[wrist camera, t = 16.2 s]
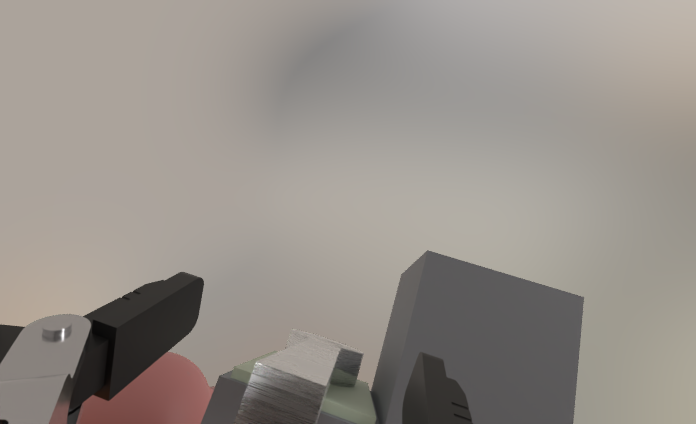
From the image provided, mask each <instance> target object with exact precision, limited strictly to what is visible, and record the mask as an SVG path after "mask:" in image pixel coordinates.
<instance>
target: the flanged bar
mask: <svg viewBox="0 0 696 424" xmlns="http://www.w3.org/2000/svg"><path fill="white" fill-rule="evenodd" d="M363 355H364V353H363V352H361V351H359V350H357V349H355V348H353V347H350V346H348V345H345V344H342V343H340V342H337V341H334V340H331V339H328V338H325V337H322V336H319V335H316V334H312V333H309V332H305V331H301V330H296V329H292V330H291V333H290V335H289V338H288V341H287V344H286V347H285V349H284V350H281V351H279V352H277V353H275V354H272V355H270V356H268V357H265V358H263V359H261V360H259V361H256V364H255V367H254V369H253V372H252V375H251V378H250V380H249V383H248V386H247V388H246V391H245V394H244V397H243V399H242V402H241V405H240V407H239V410H238V413H237V416H236V418H235V421H234V424H317V421H318V418H319V415H320V412H321V409H322V406H323V404H324V401H325V398H326V395H327V392H328V389H329V386H330V384H332V385H336V386H341V387H354V386H355V384H356V380H357V376H358V373H359V369H360V365H361V362H362V358H363Z"/></svg>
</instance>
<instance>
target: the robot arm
mask: <svg viewBox="0 0 696 424" xmlns="http://www.w3.org/2000/svg"><path fill="white" fill-rule="evenodd" d="M203 286H204V281H203V279H202V278H200V277H197V276H194V275H191V274H188V273H185V272H180V273H178V274H176V275H174V276H173V277H171V278H169V279H167V280H165V281H164V280H161V281H157V282H152V283H149V284H145V285H143V286H142V287H140V288H138V289H136V290H134V291H133V292H130V293H128V294H126V295H124V296H123V297H122V298H118V299H117V300H114V301H112V302H110V303H108V304H106V305H104V306H102V307H100V308H99V309H97V310H95V311H93V312H91V313H89V314H87V315H85V316H83V317H82V316H79V315H72V314H63V315H55V316H49V317H45V318H42V319H39V320H37V321H34V322H32V323H30V324H29V325H27V326H26V327H19V326H10V325H0V424H79V423H80V419H81V416H82V413H83V408H84V401H86V400H87V399H88V398H90V397H91V396H92V395H94V396H97V397H99V398H102V399H104V400H107V401H110V400H111V399H112V398H113V397H114V396H115V395H117V394H118V393H119V392H120V391H121V390H123V389H124V388H125V387H126V386H127V385H128V384H130V383H131V382H132V381H133V380H134V379H136V378H137V377H138V376H139V375H140V374H141V373H143V372H144V371H145V370H146V369H147V368H149V367H150V366H151V365H152V364H153V363H155V362H156V361H157V360H158V359H159V358H160V357H162V356H163V355H164V354H165V353H166V352H168V351H169V350H170V349H171V348H172V347H173V346H175V345H176V344H177V343H178V342H179V341H181V340H182V339H183V338H184V337H185V336H186V335H188V334H189V333H190V332H191V330H192V329H193V327H194V326H195V324H196V321H197V319H198V315H199V309H200V304H201V298H202V292H203ZM402 424H473V423H472V418H471V414H470V411H469V406H468V402H467V398H466V394H465V393H464V391H463V390H462V388H461V387H460V385H459V384H458V383H457V381H456V380H454V379H451V378H448V377H447V376H446V371H445V366H444V361H443V359H441V358H438V357H435V356H432V355H429V354H426V353H423V352H420V353H419V355H418V357H417V360H416V363H415V366H414V368H413V371H412V374H411V377H410V380H409V383H408V385H407V388H406V391H405V395H404V400H403V407H402Z"/></svg>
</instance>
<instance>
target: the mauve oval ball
mask: <svg viewBox="0 0 696 424" xmlns="http://www.w3.org/2000/svg"><path fill="white" fill-rule="evenodd" d="M214 388H215V387H214V386H212V387H209V386H208V383H207V381H206V378H205V377H204V375H203V373H202V372H201V370H200V369H199V368H198V367H197V366H196V365H195V364H194V363H193V362H191V361H190V360H188V359H187V358H185V357H183V356H181V355H178V354H175V353H171V352H166V353H165V354H164V355H163V356H162V357H160V358H159V359H158V360H157V361H156V362H155V363H153V364H152V365H151V366H150V367H149V368H147V369H146V370H145V371H144V372H143V373H141V374H140V375H139V376H138V377H137V378H136V379H134V380H133V381H132V382H131V383H130V384H128V385H127V386H126V387H125V388H124V389H123V390H121V391H120V392H119V393H118V394H117V395H115V396H114V397H113V398H112V399H111V400H110V401H107V400H104V399H102V398H99V397H97V396H94V395H92V396H91V397H90V398H88V399H87V400H86V401H84V408H83V413H82V416H81V419H80V423H79V424H201V421H202V419H203V416H204V414H205V411H206V409H207V406H208V404H209V401H210V399H211V396H212V394H213V391H214Z"/></svg>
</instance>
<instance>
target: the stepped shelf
mask: <svg viewBox="0 0 696 424" xmlns="http://www.w3.org/2000/svg"><path fill="white" fill-rule="evenodd" d="M583 302H584V297H581V296H578V295H575V294H571V293H568V292H565V291H561V290H558V289H555V288H551V287H548V286H545V285H541V284H538V283H535V282H531V281H528V280H525V279H521V278H518V277H515V276H511V275H508V274H505V273H501V272H498V271H494V270H491V269H488V268H485V267H481V266H478V265H475V264H471V263H468V262H465V261H461V260H458V259H454V258H451V257H448V256H444V255H441V254H438V253H435V252H431V251H426V252H425V253H424V254H423V255H422V256H421V257H420V258H419V259H418V260H417V261H416V262H414V264H412V265H411V266H410V267H409V268H408V269H407V270H406V271H405V272H404V273H403V274H402V275H401V278H400V282H399V286H398V290H397V294H396V297H395V301H394V305H393V309H392V313H391V317H390V321H389V324H388V328H387V332H386V336H385V340H384V344H383V347H382V351H381V355H380V359H379V363H378V366H377V370H376V374H375V378H374V382H373V386H372V389H371V391H370V390H369V386H368V383H366V382H363V381H360V380H356V384H355V386H354V387H341V386H336V385H332V384H330V386H329V389H328V392H327V395H326V398H325V401H324V404H323V406H322V409H321V412H320V415H319V418H318V421H317V424H402V407H403V400H404V395H405V391H406V388H407V385H408V383H409V380H410V377H411V374H412V371H413V368H414V366H415V363H416V360H417V357H418V355H419V353H420V352H423V353H426V354H429V355H432V356H435V357H438V358H441V359H443V361H444V366H445V371H446V376H447V377H448V378H451V379H454V380H456V381H457V383H458V384H459V385H460V387H461V388H462V390H463V391H464V393H465V394H466V398H467V402H468V406H469V411H470V414H471V418H472V423H473V424H573V418H574V407H575V406H574V405H575V395H576V383H577V372H578V360H579V348H580V337H581V325H582V313H583ZM275 353H277V351H273V352H271V353H268V354H265V355H263V356H261V357H258V358H256V359H253V360H251V361H248V362H245V363H243V364H240V365H238V366H235V367H234V369H233V370H232V371H230V372H228V373H225V374H223V375H220V376H219V378H218V381H217V383H216V386H215V388H214V391H213V394H212V396H211V399H210V401H209V404H208V406H207V409H206V411H205V414H204V416H203V419H202V421H201V424H234V421H235V418H236V416H237V413H238V410H239V407H240V405H241V402H242V399H243V397H244V394H245V391H246V388H247V386H248V383H249V380H250V378H251V375H252V372H253V369H254V367H255V364H256V361H259V360H261V359H263V358H265V357H268V356H270V355H272V354H275Z"/></svg>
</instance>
